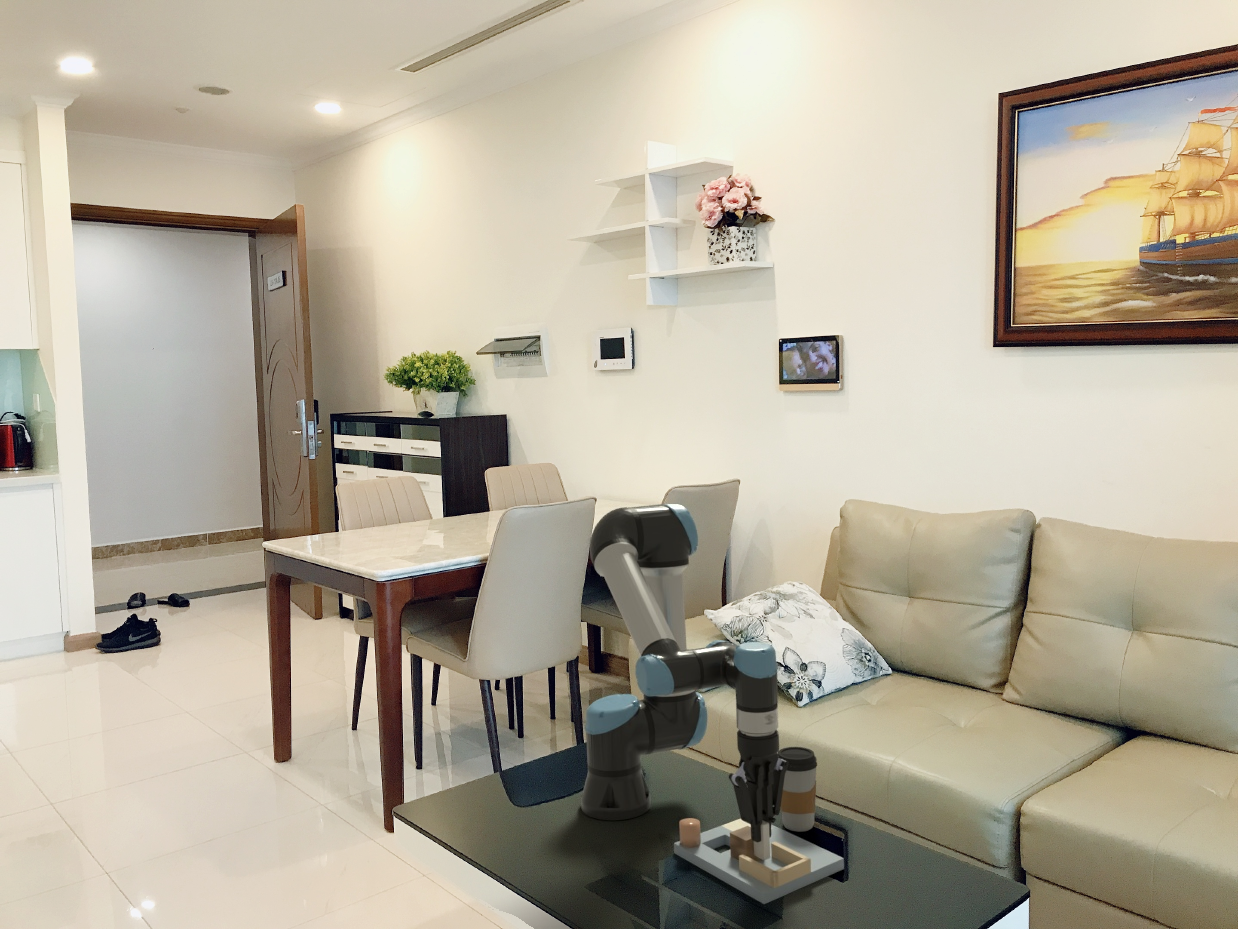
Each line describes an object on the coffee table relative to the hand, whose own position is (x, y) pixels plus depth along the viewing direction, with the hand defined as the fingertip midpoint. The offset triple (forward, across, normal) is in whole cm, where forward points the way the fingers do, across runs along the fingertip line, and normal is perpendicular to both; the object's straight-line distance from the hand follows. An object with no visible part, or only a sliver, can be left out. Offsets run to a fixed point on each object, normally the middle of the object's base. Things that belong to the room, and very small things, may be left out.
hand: (761, 856), depth 176 cm
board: (+3, +3, +5) cm, 6 cm away
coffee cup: (+4, +20, +11) cm, 23 cm away
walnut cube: (+1, 0, +4) cm, 4 cm away
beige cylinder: (+2, -4, +15) cm, 16 cm away
